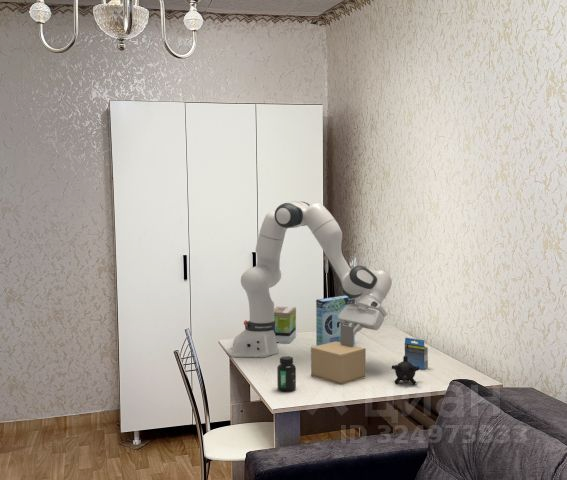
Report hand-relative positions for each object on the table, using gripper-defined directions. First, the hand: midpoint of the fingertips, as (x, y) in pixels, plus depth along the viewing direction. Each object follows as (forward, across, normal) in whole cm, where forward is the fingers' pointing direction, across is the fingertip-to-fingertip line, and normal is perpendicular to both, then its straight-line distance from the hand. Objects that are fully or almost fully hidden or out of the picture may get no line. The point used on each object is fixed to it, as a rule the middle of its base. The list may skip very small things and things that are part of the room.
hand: (351, 333), depth 283 cm
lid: (+9, 0, -2) cm, 9 cm away
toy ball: (+8, +24, +15) cm, 29 cm away
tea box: (-1, -60, +24) cm, 65 cm away
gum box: (-7, -33, +29) cm, 45 cm away
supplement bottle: (+35, -2, -12) cm, 37 cm away
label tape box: (-6, +13, +29) cm, 32 cm away
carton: (+16, 0, +6) cm, 17 cm away
